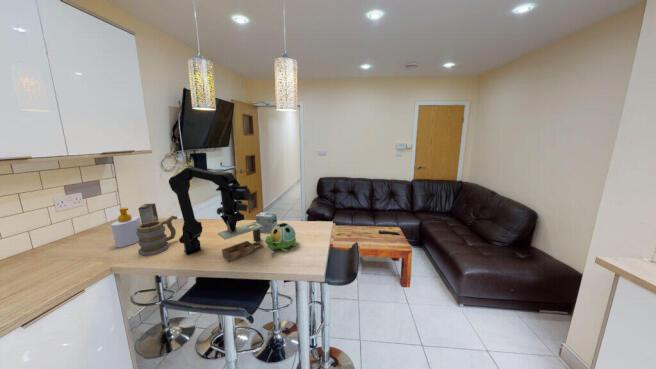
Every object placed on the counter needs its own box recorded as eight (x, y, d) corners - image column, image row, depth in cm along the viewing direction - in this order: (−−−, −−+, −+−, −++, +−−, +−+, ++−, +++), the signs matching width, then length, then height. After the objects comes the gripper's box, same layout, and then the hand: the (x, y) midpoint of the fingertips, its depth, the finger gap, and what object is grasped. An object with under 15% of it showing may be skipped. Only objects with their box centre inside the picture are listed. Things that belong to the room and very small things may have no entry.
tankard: (146, 257, 118) (140, 229, 115) (135, 251, 125) (129, 224, 122) (187, 241, 135) (183, 216, 131) (176, 237, 141) (171, 212, 138)
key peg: (256, 242, 131) (254, 228, 130) (253, 240, 133) (252, 227, 132) (260, 240, 133) (259, 227, 131) (258, 239, 135) (257, 225, 133)
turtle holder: (258, 252, 120) (256, 230, 118) (285, 238, 135) (283, 218, 132) (275, 259, 113) (273, 235, 111) (301, 244, 128) (300, 223, 125)
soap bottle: (122, 248, 129) (113, 212, 124) (112, 246, 131) (103, 211, 127) (147, 238, 141) (140, 205, 136) (137, 236, 144) (130, 204, 139)
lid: (224, 239, 110) (223, 228, 109) (218, 234, 116) (216, 223, 115) (263, 227, 123) (262, 217, 122) (255, 223, 129) (254, 213, 128)
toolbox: (229, 261, 112) (228, 255, 111) (222, 256, 118) (221, 249, 117) (264, 248, 124) (264, 241, 124) (257, 243, 130) (256, 237, 129)
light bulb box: (278, 229, 148) (276, 212, 146) (272, 233, 142) (271, 216, 139) (262, 228, 151) (261, 211, 149) (256, 232, 145) (255, 215, 142)
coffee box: (148, 227, 157) (144, 204, 154) (160, 226, 159) (155, 202, 156) (143, 233, 149) (137, 208, 145) (155, 231, 151) (150, 206, 147)
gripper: (253, 199, 112) (256, 231, 115) (236, 192, 125) (239, 221, 128) (229, 205, 104) (233, 238, 108) (214, 197, 117) (218, 227, 121)
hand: (232, 230), depth 116 cm, fingers closed on lid, 3 cm apart
